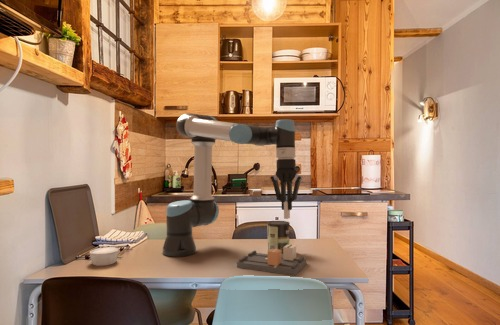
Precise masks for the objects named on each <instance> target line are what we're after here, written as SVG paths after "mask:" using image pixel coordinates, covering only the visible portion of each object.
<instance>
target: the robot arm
mask: <svg viewBox="0 0 500 325" xmlns="http://www.w3.org/2000/svg"><path fill="white" fill-rule="evenodd" d="M175 125H176V131H177V132H178V134H179V135H180V136H181V137H183V138H187V139H190V140H191V144H192V145H193V146H194V148H193V149H194V154H193V157H194V159H193V160H194V161H193V165H194V166H193V195H192V196H191V197H190V199H189V200H187V199H185V200H177V201H173V202H170V203H169V204H167V205H166V212H165V215H166V237H165V239H164V244H163V246H162V254H163V255H164V256H167V257H175V258H176V257H186V256H191V255H194V254H196V252H197V246H196V243H195V240H194V236H193V228H196V227H203V226H209V225H211V224H213V223H214V222H215V221H216V220H217V219H218V217H219V214H220V213H219V210H220V209H219V205H218V203H217V202H216V201H215V197H214V196H213V195H212V172H213V171H212V170H213V169H212V168H213V167H212V166H213V165H212V161H213V159H212V158H213V146H214V145H215V144H216V140H220V141H226V142H233V143H235V144H238V145H254V146H256V147H257V146H260V147H265V146H269V145H270V146H271V145H275V147H276V149H275V150H276V152H275V153H276V158H277V159H276V161H275V162H276V171H275V173H274V175H272V176H270V180H271V182H272V185H273V188H274V192H275V197H276V200H277V201H280V202H281V210H283V219H285V220H289V219H290V218H291V212H290V211H292V208H293V207H292V206H293V201H296V200H297V198H298V193H299V189H300V184H301V181H302V179H303V176H302V175H299V174H298V172H297V169H296V166H297V165H296V159H295V158H296V126H295V121H294V120H293V119H288V118H287V119H286V118H285V119H278V120H276V121H275V125H273V126H260V125H252V124H245V123H236V122H235V123H234V122H229V121H228V122H227V121H219V120H217V118H215V117H214V116H211V115H205V114H197V113H192V112H189V113H188V112H187V113H184V114H181V115H180V116H179V117H178V118H177V120H176V124H175ZM278 180H279V181H280V182H279V181H278ZM294 180H295V182H294V186H293V181H294ZM279 184H280V185H279Z"/></svg>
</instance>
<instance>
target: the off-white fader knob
mask: <svg viewBox="0 0 500 325" xmlns="http://www.w3.org/2000/svg"><path fill="white" fill-rule="evenodd" d="M295 258H297V245H296V244H295V245H294V244H289V245H286V246H284V247H283V260H291V261H293V260H294V259H295Z"/></svg>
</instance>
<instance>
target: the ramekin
mask: <svg viewBox="0 0 500 325" xmlns="http://www.w3.org/2000/svg"><path fill="white" fill-rule="evenodd" d="M119 251H120V250H119V248H118V247H113V246H111V247H110V246H109V247H108V246H107V247H99V248H95V249H92V250H89V256H90V261H91V265H93V266H96V267H103V266H109V265H113V264H115V263H116V262H117V261H118V257H119V256H118V255H119Z"/></svg>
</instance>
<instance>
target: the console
mask: <svg viewBox="0 0 500 325" xmlns="http://www.w3.org/2000/svg"><path fill="white" fill-rule="evenodd" d="M306 264H307V258H305V256H304V255H302V256H300V257H296V258H295V259H294V260H293V261H291V260H283V256H282V263H280V264H279V265H278V266H274V265H268V253H261V252H257V250H253V251H251V252H249V253H248V254H247V255H244V256H242V257H241V258H239V259H238V261H237V262H236V268H238V269H239V268H240V269H246V270H254V271H262V272H269V273H276V274H283V275H290V276H296V275H297V274H298V273H299V272H300V271H301V270H302V269H303V268H304V267H305V266H306Z"/></svg>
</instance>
